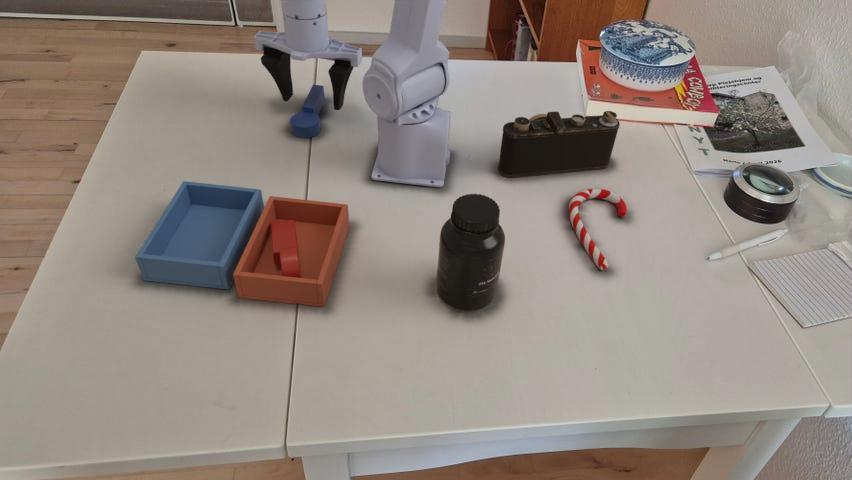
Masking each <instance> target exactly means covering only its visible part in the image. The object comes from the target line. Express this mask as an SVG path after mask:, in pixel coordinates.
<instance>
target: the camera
mask: <svg viewBox="0 0 852 480" xmlns="http://www.w3.org/2000/svg"><path fill="white" fill-rule="evenodd" d="M617 117H618V115H617V113H616V112H614V111H612V110H605V111H603V113H602V115H588V116H584V115H581V114H577V113H576V114H572V115H571V117H561V114H560V112H559V111H547V113H538V114H535V115H533V116H531V117H530V118H528V117H524V116H518V117H516V118H514V121H508V122H507V123H505V124H504V125H503V127H502V136H501V143H500V150H499V157H498V158H499V159H498V165H497V172H498V174H500V175H501V176H502V177H505V178H507V179H508V178H510V179H511V178H512V179H513V178H523V177H530V176H531V177H532V176H543V175H553V174H554V175H555V174H564V173H565V174H566V173H576V172H584V171H596V170H604V169H607V168H608V167H609V166H610V161H611V157H612V153H613V149H614V146H615V142H616V139H617V135H618V132H619V129H620V124H621V123H620V120H618V118H617Z"/></svg>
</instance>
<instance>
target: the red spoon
mask: <svg viewBox="0 0 852 480" xmlns="http://www.w3.org/2000/svg"><path fill="white" fill-rule="evenodd" d="M271 232H272V249H273V258H274V264H281V270H282V276H287V277H296V278H301V274H300V266H299V258H298V249H297V239H296V230H295V223H294V220H285V221H275V222H271Z"/></svg>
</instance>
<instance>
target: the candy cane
mask: <svg viewBox="0 0 852 480" xmlns="http://www.w3.org/2000/svg"><path fill="white" fill-rule="evenodd" d="M590 199H600V200H604V201H608V202H610V203H612V204H613V205H615V206H616V207H617V215H618V217H619V218H622V219H623V218H625V217H626V216H627V213H628V210H627V209H628V208H627V204H626V202H625V201H624V200H623V198H622V197H620V196H619V194H616V193H615V192H613V191H610V190H608V189H603V188H588V189H583V190H581V191H579V192H577V193H576V194H575V195H574V196H573V197H572V198H571V199H570V201H569V204H568V217H569V221H570V224H571V226H572V228H573V231H574V233H575V235H576V237H577V238H578V240H579V242H580V243H581V245H582V246H583V249H584V250H585V251H586V252H587V254H588V255H589V257H590V259H591V260H592V261H593V263H594V264H595V265H596V267H597V268H598V269H599V270H601V271H606V270H607V269H608V268H609V267H610V266H609V265H610V264H609V262H608V259H606V258H605V256H604V255H603V253H602V252H601V250H599V248H598V246H597V245H596V243H595V242H594V241H593V239H592V237H591V236H590V234H589V232H588V230H587V229H586V227H585V225H584V224H583V221H582V219H581V216H580V213H579V207H580V205H581V203H582V202H584V201H587V200H590Z"/></svg>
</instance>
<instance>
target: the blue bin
mask: <svg viewBox="0 0 852 480" xmlns="http://www.w3.org/2000/svg"><path fill="white" fill-rule="evenodd" d="M264 207H265V205H264V199H263V193H262V189H260V188H259V189H258V188H250V187H241V186H232V185H224V184H215V183H205V182H195V181H186V180H183V181H182V183H181V184H180V185H179V187H178V188H177V190H176V192H175V194H174V195H173V196H172V198H171V200H170V201H169V202H168V204H167V206H166V208H165V209H164V211H163V212H162V214H161V215H160V217H159V219H158V220H157V222H156V224H155V225H154V226H153V228H152V229H151V231H150V233H149V234H148V236H147V237H146V239H145V240H144V242H143V243H142V245H141V246H140V248H139V250H138V251H137V253H136V255H135V256H134V258H135V261H136V263H137V266H138V269H139V272H140V274H141V278H142V279H143V281H144V282H154V283H155V282H156V283H166V284H175V285H183V286H194V287H203V288H212V289H219V290H220V289H222V290H230V289H231V287H232V285H233V282H234V276H233V274H234V272H235V270H236V267H237V265H238V263H239V261H240V259H241V257H242V255H243V252H244V250H245V248H246V246H247V244H248V242H249V240H250V237H251V235H252V233H253V231H254V229H255V227H256V225H257V222H258V220H259V218H260V216H261V214H262V212H263V210H264Z"/></svg>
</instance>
